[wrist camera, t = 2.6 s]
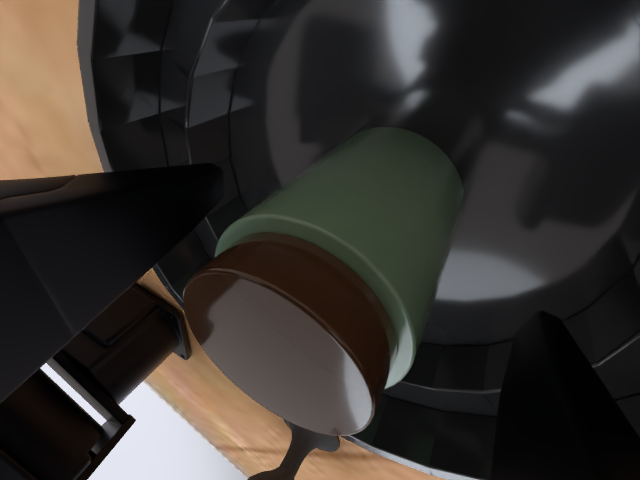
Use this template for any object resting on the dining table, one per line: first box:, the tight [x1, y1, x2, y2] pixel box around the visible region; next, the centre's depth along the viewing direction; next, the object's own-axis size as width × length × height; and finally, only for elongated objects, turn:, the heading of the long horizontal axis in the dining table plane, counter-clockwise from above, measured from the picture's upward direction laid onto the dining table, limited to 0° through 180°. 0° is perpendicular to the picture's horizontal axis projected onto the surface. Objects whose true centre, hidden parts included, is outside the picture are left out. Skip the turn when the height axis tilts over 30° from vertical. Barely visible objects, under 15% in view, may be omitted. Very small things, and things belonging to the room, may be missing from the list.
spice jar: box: [183, 127, 465, 436], centre depth 8 cm, size 5×5×7 cm
